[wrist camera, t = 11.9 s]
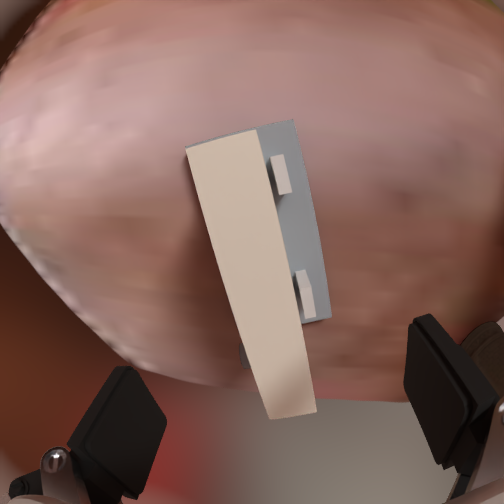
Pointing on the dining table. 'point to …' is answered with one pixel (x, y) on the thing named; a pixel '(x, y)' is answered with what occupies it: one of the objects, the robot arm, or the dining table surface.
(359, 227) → the dining table surface
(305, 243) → the hinge plate
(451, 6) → the dining table surface
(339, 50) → the dining table surface
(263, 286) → the cabinet door
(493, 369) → the beer stein
